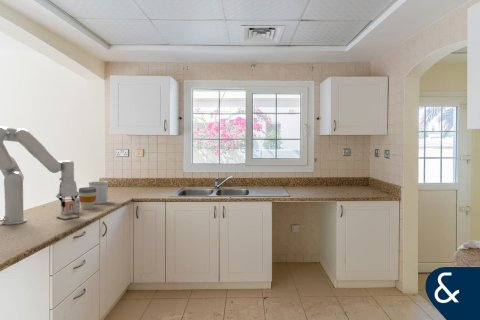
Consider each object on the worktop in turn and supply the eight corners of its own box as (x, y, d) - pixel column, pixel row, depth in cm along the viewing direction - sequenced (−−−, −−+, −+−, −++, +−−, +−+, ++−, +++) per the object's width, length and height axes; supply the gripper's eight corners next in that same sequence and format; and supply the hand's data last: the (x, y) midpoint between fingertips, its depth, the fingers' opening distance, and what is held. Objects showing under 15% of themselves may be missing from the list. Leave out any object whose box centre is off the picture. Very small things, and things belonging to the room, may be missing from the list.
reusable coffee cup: (91, 209, 250) (91, 189, 249) (75, 209, 250) (75, 189, 249) (99, 206, 262) (99, 187, 262) (83, 205, 263) (83, 187, 262)
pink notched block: (66, 212, 217) (66, 201, 217) (61, 211, 220) (61, 201, 220) (74, 211, 221) (74, 200, 221) (70, 210, 225) (70, 199, 224)
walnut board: (64, 220, 214) (64, 218, 214) (56, 218, 220) (56, 216, 220) (79, 217, 222) (79, 216, 222) (71, 215, 228) (71, 214, 228)
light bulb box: (75, 211, 243) (75, 196, 242) (80, 212, 238) (80, 197, 238) (60, 213, 234) (60, 198, 234) (64, 214, 230) (64, 199, 230)
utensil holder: (92, 201, 284) (92, 180, 283) (110, 201, 286) (110, 180, 285) (86, 204, 269) (86, 182, 269) (105, 204, 271) (105, 183, 270)
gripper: (57, 180, 211) (57, 209, 211) (83, 178, 225) (83, 205, 225) (51, 180, 215) (52, 207, 216) (77, 177, 229) (77, 203, 230)
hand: (68, 206), depth 221 cm, fingers closed on pink notched block, 5 cm apart
